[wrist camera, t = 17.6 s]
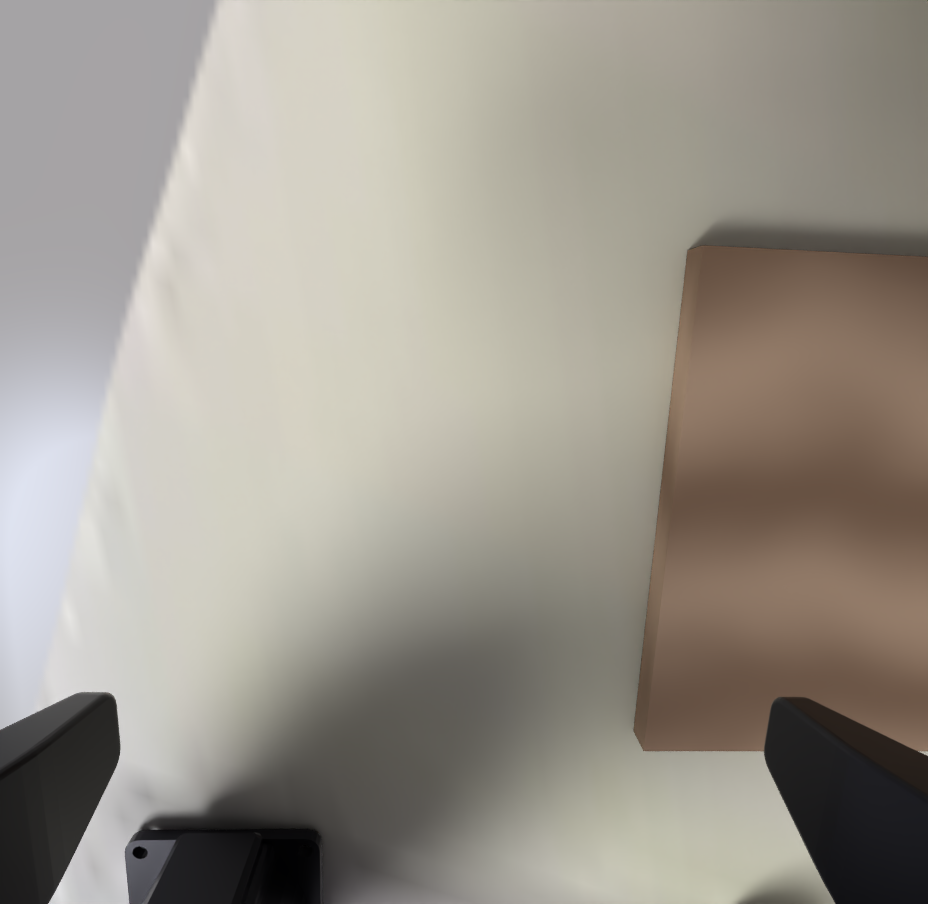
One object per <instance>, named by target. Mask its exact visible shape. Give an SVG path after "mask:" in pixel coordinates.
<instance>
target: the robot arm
mask: <svg viewBox="0 0 928 904" xmlns="http://www.w3.org/2000/svg"><path fill="white" fill-rule="evenodd" d="M764 755H765V761H766V764H767V767H768V769H769V771H770V773H771V775H772V778H773V780H774V782H775V784H776V786H777V788H778V790H779V792H780V794H781V796H782V798H783V800H784V802H785V805H786V807H787V809H788V811H789V813H790V815H791V817H792V819H793V821H794V823H795V825H796V827H797V829H798V832H799V834H800V836H801V838H802V840H803V842H804V844H805V846H806V848H807V850H808V852H809V854H810V857H811V859H812V861H813V863H814V865H815V867H816V869H817V870H818V872H819V874H820V876H821V878H822V880H823V882H824V884H825V886H826V888H827V889H828V891H829V893H830V895H831V896H832V898H833V900H834V902H835V904H928V756H926V755H924V754H922V753H920V752H918V751H916V750H914V749H912V748H910V747H908V746H906V745H904V744H902V743H899V742H897V741H895V740H893V739H891V738H889V737H887V736H885V735H883V734H881V733H879V732H877V731H875V730H873V729H871V728H869V727H867V726H865V725H862V724H860V723H858V722H856V721H854V720H852V719H850V718H848V717H846V716H844V715H842V714H840V713H838V712H836V711H834V710H832V709H830V708H828V707H825V706H823V705H821V704H819V703H817V702H815V701H813V700H811V699H809V698H806V697H778V698H776V699H775V700H774V701H773V703H772V705H771V709H770V715H769V721H768V727H767V733H766V738H765V744H764ZM119 756H120V736H119V725H118V715H117V704H116V700H115V698H114V696H113V695H112V694H110V693H107V692H81V693H77V694H74V695H72V696H70V697H68V698H66V699H64V700H62V701H60V702H57V703H55V704H53V705H51V706H49V707H47V708H45V709H43V710H41V711H39V712H37V713H35V714H32V715H30V716H28V717H26V718H24V719H22V720H20V721H18V722H16V723H14V724H12V725H10V726H7V727H5V728H3V729H1V730H0V904H48V903H49V901H50V900H51V898H52V896H53V894H54V893H55V891H56V889H57V887H58V885H59V883H60V881H61V879H62V877H63V875H64V873H65V871H66V869H67V867H68V865H69V863H70V861H71V859H72V857H73V855H74V853H75V851H76V849H77V847H78V845H79V843H80V841H81V839H82V837H83V834H84V832H85V830H86V828H87V826H88V824H89V822H90V820H91V818H92V816H93V814H94V812H95V810H96V808H97V806H98V804H99V801H100V799H101V797H102V795H103V793H104V791H105V789H106V787H107V785H108V783H109V781H110V779H111V777H112V775H113V773H114V771H115V768H116V766H117V763H118V760H119ZM303 845H308V846H310V847H304V846H303ZM140 846H141V847H140ZM142 847H144V848H142ZM125 860H126V871H127V882H128V893H129V903H130V904H323V872H322V838H321V836H320V835H319V833H318V832H316V831H314V830H311V829H239V830H143V831H139V832H137V833H135V834H134V835H133V837H132V838H131V840H130V841H129V843H128V845H127V846H126V848H125Z"/></svg>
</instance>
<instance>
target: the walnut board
mask: <svg viewBox="0 0 928 904" xmlns="http://www.w3.org/2000/svg"><path fill="white" fill-rule="evenodd" d="M778 697H806V698H809V699H811V700H813V701H815V702H817V703H819V704H821V705H823V706H825V707H828V708H830V709H832V710H834V711H836V712H838V713H840V714H842V715H844V716H846V717H848V718H850V719H852V720H854V721H856V722H858V723H860V724H862V725H865V726H867V727H869V728H871V729H873V730H875V731H877V732H879V733H881V734H883V735H885V736H887V737H889V738H891V739H893V740H895V741H897V742H899V743H902V744H904V745H906V746H908V747H910V748H912V749H914V750H916V751H928V257H923V256H903V255H883V254H864V253H844V252H825V251H805V250H785V249H766V248H746V247H726V246H707V245H702V246H699V247H696V248H693V249H690V250H688V251H687V259H686V268H685V277H684V286H683V295H682V304H681V313H680V322H679V331H678V339H677V348H676V357H675V366H674V375H673V384H672V393H671V402H670V411H669V419H668V428H667V437H666V446H665V455H664V464H663V473H662V482H661V491H660V499H659V508H658V517H657V526H656V535H655V544H654V553H653V562H652V571H651V579H650V588H649V597H648V606H647V615H646V624H645V633H644V642H643V651H642V659H641V668H640V677H639V686H638V695H637V704H636V713H635V722H634V733H635V735H636V737H637V739H638V741H639V743H640V745H641V747H642V749H643V751H764V744H765V738H766V733H767V727H768V721H769V715H770V709H771V705H772V703H773V701H774V700H775V699H776V698H778Z"/></svg>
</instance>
